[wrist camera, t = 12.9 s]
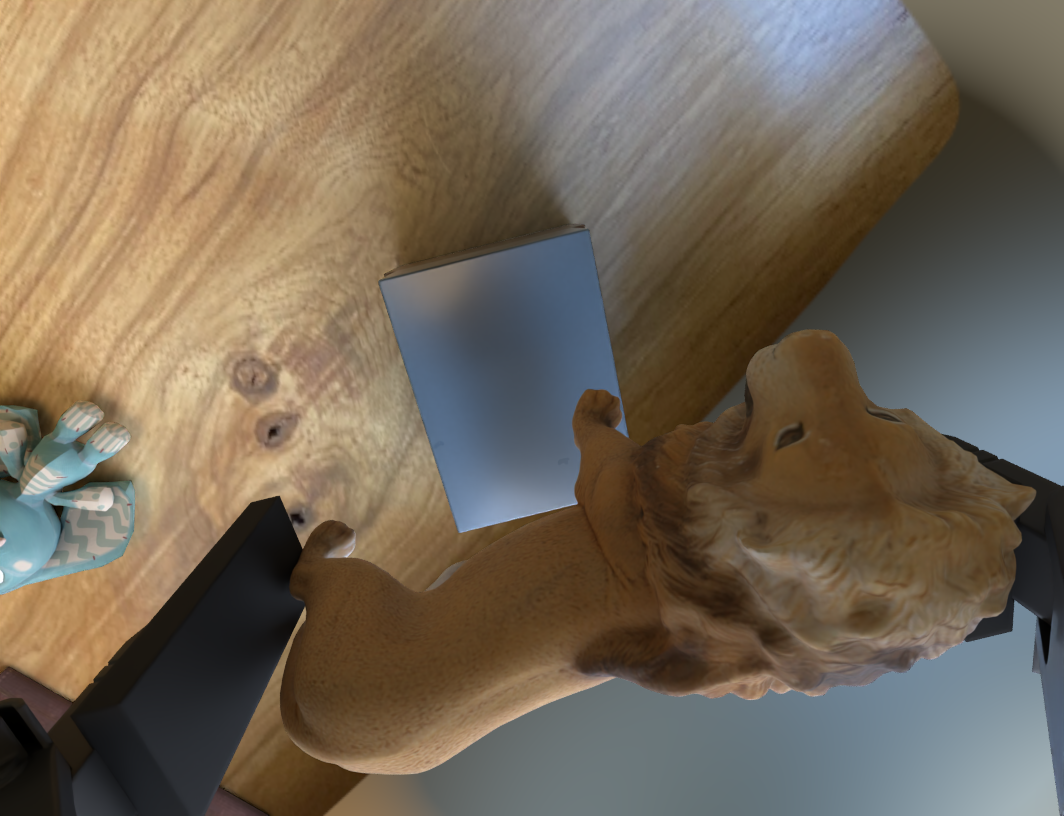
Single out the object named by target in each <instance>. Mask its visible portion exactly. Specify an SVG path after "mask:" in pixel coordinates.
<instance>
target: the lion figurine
mask: <svg viewBox="0 0 1064 816" xmlns="http://www.w3.org/2000/svg"><path fill="white" fill-rule="evenodd" d="M744 396H745V402H743V403H741V404H739V405H737V406H734V407H731V408H729V409H727V410H726V411H725V412H723V413H722V414H721V415H720V416H719V417H718V419H717V420H716V422H714V423H711V422H700V423H697V424H695V425H692V426H691V425H682V424H681V425H678V426H677V427H676V428H675V430H674V431H672V432H670V433H667V434H664V435H661V436H659V437H656V438H654V439H652V440H650V441H648V442H647V443H646V444H645V445H643V446H639V445H638V444H636V443H635V442H633V441H632V440H631V439H629V438H628V437H626V436H625V435H623V434H622V433H620V432H619V431H617V430H616V429H615V428H616V427H617V426H618V425H619V424H620V422H621V420H622V412H621V410H620V399H619V398H618V397H617V396H614V395H611V394H610V393H609V392H608V391H607V390H603V389H600V390H593V389H587V390H585V391H584V393H583V394H582V396H581V397H580V399H579V401H578V403H577V405H576V409H575V412H574V416H573V419H572V428H573V432H574V443H575V445H576V447H577V448H578V449H579V450H580V453H581V460H580V470H579V474H578V478H577V481H576V483H575V488H574V494H575V498H576V500H577V502H578V504H577V505H576V506H574V507H571V508H568V509H565V510H563V511H560V512H557V513H555V514H552V515H549V516H546V517H544V518H541V519H539V520H536V521H534V522H532V523H529V524H527V525H525V526H523V527H521V528H519V529H518V530H516V531H514V532H512V533H510V534H508V535H506V536H505V537H503V538H501V539H500V540H498V541H496V542H494V543H493V544H491V545H489V546H488V547H486V548H484V549H483V550H481V551H480V552H479V553H477V554H476V555H474V556H473V557H472V558H470V559H469V560H467V561H462V562H458V563H456V564H454V565H452V566H450V567H449V568H447V569H446V570H445V571H444V572H443V573H442V574H441V576H440V577H439V578H438V579H437V580H436V581H435V582H434V583H433V584H432V585H431V586H430V587H429V588H428V589H427V590H425V591H424V592H415V591H412V590H410V589H409V588H407V587H405V586H404V585H402V584H401V583H400V582H398V581H397V580H396V579H395V578H393V577H392V576H391V575H390V574H389V573H387V572H386V571H384V570H382V569H381V568H379V567H377V566H376V565H374V564H372V563H370V562H368V561H365V560H362V559H358V558H346V557H347V556H349V555H350V553H351V552H352V551H353V549H354V547H355V532H354V530H353V529H351V528H349V527H347V525H346V524H344V523H342V522H339V521H334V520H330V521H325V522H323V523H322V524H320V525H319V526H318V527H316V528H315V529H314V531H313V532H312V533H311V535H310V536H309V538H308V540H307V542H306V544H305V546H304V548H303V550H302V553H301V555H300V558H299V560H298V563H297V565H296V566H295V568H294V569H293V571H292V575H291V578H290V585H289V589H290V593H291V595H292V596H293V597H294V598H295V599H297V600H301V601H304V603H305V607H306V621H305V622H304V623H303V624H302V626H301V627H300V629H299V630H298V632H297V634H296V636H295V638H294V640H293V644H292V647H291V650H290V653H289V656H288V658H287V661H286V665H285V670H284V674H283V678H282V685H281V691H280V710H281V716H282V720H283V724H284V727H285V730H286V732H287V734H288V735H289V737H290V738H291V740H292V741H293V742H294V743H295V744H296V745H297V746H298V747H300V748H301V749H302V750H303V751H304V752H306V753H307V754H309V755H311V756H312V757H315V758H317V759H319V760H321V761H324V762H328V763H333V764H338V765H339V766H340V767H342V768H345V769H347V770H349V771H354V772H360V773H374V774H415V773H420V772H423V771H426V770H429V769H431V768H433V767H435V766H438V765H440V764H441V763H443V762H445V761H447V760H448V759H450V758H451V757H453V756H454V755H456V754H457V753H459V752H460V751H462V750H463V749H465V748H466V747H468V746H469V745H471V744H472V743H474V742H475V741H477V740H478V739H480V738H481V737H483V736H484V735H486V734H488V733H489V732H491V731H493V730H494V729H496V728H498V727H499V726H501V725H503V724H505V723H507V722H509V721H511V720H513V719H515V718H517V717H519V716H521V715H523V714H526V713H528V712H530V711H532V710H534V709H536V708H538V707H541V706H543V705H545V704H547V703H549V702H552V701H555V700H557V699H560V698H563V697H565V696H568V695H571V694H573V693H576V692H579V691H582V690H585V689H587V688H591V687H593V686H596V685H598V684H601V683H603V682H606V681H608V680H611V679H613V678H616V677H618V678H622V679H625V680H628V681H631V682H634V683H636V684H638V685H640V686H642V687H644V688H646V689H648V690H651V691H654V692H657V693H661V694H665V695H670V696H676V697H679V696H685V695H689V694H694V693H697V694H701V695H703V696H706V697H708V698H711V699H712V698H718V697H722V696H724V695H726V694H728V693H730V692H731V693H733V694H735V695H737V696H739V697H741V698H743V699H747V700H753V699H759V698H761V697H762V696H764V695H765V694H766V693H767V691H768V689H771V690H773V691H775V692H777V693H779V694H781V693H786V692H787V691H789V690H792V689H793V690H795V691H797V692H804V693H805V694H806V695H809V696H819V695H825V693H826V692H827V691H828V690H829V689H830V688H831V687H836V686H865V685H868V684H870V683H872V682H873V681H875V680H876V679H877V678H879V677H880V676H881V675H883V674H885V673H888V672H892V671H893V672H897V673H905V672H907V671H908V670H910V668H911V667H912V666H913V665H914V663H915V662H917V661H918V660H919V659H920V658H924V659H927V660H931V659H935V658H937V657H939V656H940V655H942V654H943V653H944V652H946V651H947V650H948V649H950V648H951V647H953V646H956V645H959V644H960V643H962V642H963V641H964V639H965V638H966V636H967V635H969V634H970V633H972V632H973V631H974V630H975V628H976V626H977V625H978V623H979V622H980V621H981V620H982V619H983V618H988V617H995V616H998V615H999V614H1001V613H1002V612H1003V611H1004V609H1005V607H1006V604H1007V599H1008V595H1009V592H1010V590H1011V588H1012V585H1013V583H1014V581H1015V574H1016V558H1015V554H1014V551H1013V550H1014V549H1015V548H1017V547H1018V546H1019V545H1020V543H1021V541H1022V536H1021V532H1020V531H1019V529H1018V527H1017V526H1016V524H1015V523H1014V520H1015V519H1016V518H1017V517H1018V516H1019V515H1021V514H1022V513H1023V512H1024V511H1025V510H1026V509H1027V508H1028V507H1029V505H1030V504H1031V503H1032V501H1033V500H1034V498H1035V496H1036V490H1034V489H1033V488H1032V487H1028V486H1022V485H1016V484H1012V483H1010V482H1009V481H1007V480H1006V479H1004V478H1003V477H1001V476H999V475H998V474H996V473H994V472H993V471H991V470H989V469H987V468H986V467H984V466H983V465H982V464H980V463H979V462H978V459H977V457H976V456H975V455H974V454H972V453H971V452H968V451H965V450H963V449H962V448H961V447H960V446H958V445H957V444H956V443H955V442H954V441H951V440H948V439H947V438H946V437H945V436H943V435H942V434H940V433H939V432H938V431H936V430H935V429H933V428H932V427H931V426H929V425H928V424H927V423H926V422H924V421H923V420H922V419H921V418H919V416H917V415H916V414H915V413H914V412H913V411H911V410H909V409H906V408H905V409H888V408H882V407H878V406H876V405H875V404H874V403H873V402H872V401H870V400H869V399H868V398H867V396H866V394H865V393H864V391H863V389H862V388H861V386H860V384H859V381H858V377H857V372H856V368H855V363H854V361H853V359H852V356H851V354H850V352H849V350H848V349H847V347H846V346H845V345H844V344H843V343H842V342H841V341H840V340H839V338H838V337H837V336H836V335H835V334H833V333H832V332H830V331H828V330H812V329H807V330H803V331H798V332H794V333H791V334H789V335H787V336H786V337H785V338H784V339H782V340H781V342H780V343H779V344H776V345H771V346H768V347H766V348H763V349H761V350H759V351H758V352H757V353H756V354H755V355H754V357H753V358H752V360H751V361H750V363H749V365H748V369H747V375H746V385H745V395H744Z"/></svg>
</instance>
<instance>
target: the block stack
mask: <svg viewBox="0 0 1064 816" xmlns="http://www.w3.org/2000/svg"><path fill="white" fill-rule="evenodd" d="M384 276H385V277H384V278H382V279H380V280H379V281H378V283H379V287H380V290H381V293H382V296H383V299H384V302H385V305H386V308H387V312H388V315H389V318H390V321H391V324H392V327H393V330H394V333H395V337H396V340H397V343H398V346H399V349H400V352H401V355H402V358H403V361H404V365H405V368H406V371H407V374H408V377H409V380H410V383H411V386H412V390H413V393H414V396H415V399H416V402H417V405H418V408H419V411H420V415H421V418H422V421H423V424H424V427H425V430H426V433H427V436H428V439H429V443H430V446H431V449H432V452H433V455H434V458H435V461H436V464H437V468H438V471H439V474H440V477H441V480H442V483H443V486H444V489H445V493H446V496H447V499H448V502H449V505H450V508H451V511H452V514H453V517H454V521H455V524H456V527H457V530H458V532H459V533H461V532H465V531H469V530H473V529H477V528H481V527H485V526H489V525H494V524H498V523H502V522H506V521H510V520H514V519H518V518H522V517H526V516H530V515H534V514H538V513H543V512H547V511H551V510H555V509H559V508H563V507H567V506H571V505H575V504H578V502H577V500H576V498H575V494H574V488H575V483H576V481H577V478H578V474H579V470H580V460H581V453H580V450H579V449H578V448H577V447H576V445H575V443H574V432H573V428H572V419H573V416H574V412H575V409H576V405H577V403H578V401H579V399H580V397H581V396H582V394H583V393H584V391H585V390H587V389H593V390H600V389H603V390H607V391H608V392H609V393H610V394H611V395H614V396H617V397H618V398H619V399H620V410H621V412H622V420H621V422H620V424H619V425H618V426H617V427H616V428H615V429H616V430H617V431H619V432H620V433H622V434H623V435H625V436H626V437H628V432H627V426H626V421H625V416H624V410H623V405H622V400H621V395H620V389H619V384H618V379H617V374H616V368H615V363H614V358H613V353H612V347H611V342H610V337H609V332H608V326H607V321H606V316H605V310H604V305H603V300H602V295H601V289H600V284H599V279H598V274H597V268H596V263H595V258H594V253H593V247H592V242H591V237H590V232H589V229H586V228H585V225H583V224H568V225H564V226H560V227H556V228H552V229H548V230H543V231H539V232H535V233H531V234H527V235H523V236H519V237H515V238H511V239H507V240H503V241H499V242H495V243H491V244H487V245H483V246H479V247H475V248H471V249H467V250H463V251H459V252H455V253H451V254H447V255H443V256H439V257H435V258H431V259H426V260H422V261H418V262H414V263H410V264H406V265H402V266H399V267H397V268H395V269H393V270H391V271H389V272H387V273H385V274H384ZM628 438H629V437H628Z"/></svg>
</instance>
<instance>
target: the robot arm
mask: <svg viewBox="0 0 1064 816" xmlns="http://www.w3.org/2000/svg"><path fill="white" fill-rule="evenodd" d="M942 435H943V436H945V437H946V438H947V439H948V440H951V441H954V442H955V443H956V444H957V445H958V446H960V447H961V448H962V449H963V450H965V451H968V452H971V453H972V454H974V455H975V456H976V457H977V459H978V462H979V463H980V464H982V465H983V466H984V467H986V468H987V469H989V470H991V471H993V472H994V473H996V474H998V475H999V476H1001V477H1003V478H1004V479H1006V480H1007V481H1009V482H1010V483H1012V484H1016V485H1022V486H1028V487H1032V488H1033V489H1034V490H1036V496H1035V498H1034V500H1033V501H1032V503H1031V504H1030V505H1029V507H1028V508H1027V509H1026V510H1025V511H1024V512H1023V513H1022V514H1021V515H1019V516H1018V517H1017V518H1016V519H1015V520H1014V523H1015V524H1016V526H1017V527H1018V529H1019V531H1020V532H1021V536H1022V541H1021V543H1020V545H1019V546H1018V547H1017V548H1015V549H1014V550H1013V551H1014V554H1015V558H1016V574H1015V581H1014V583H1013V585H1012V588H1011V590H1010V592H1009V595H1008V599H1007V604H1006V607H1005V609H1004V611H1003V612H1002V613H1001V614H999V615H998V616H995V617H988V618H983V619H982V620H981V621H980V622H979V623H978V625H977V626H976V628H975V630H974V631H973V632H972V633H970V634H969V635H967V636H966V638H965V639H964V640H965V641H966V642H969V641H974V640H978V639H982V638H986V637H990V636H994V635H998V634H1002V633H1007V632H1011V631H1012V628H1013V612H1014V600H1016V601H1017V602H1018V603H1020V604H1021V605H1022V606H1024V607H1025V608H1027V609H1028V610H1029V611H1031V612H1032V613H1034V614H1035V615H1036V616H1037V622H1036V633H1035V645H1034V656H1033V668H1032V672H1034V673H1038V674H1041V679H1042V680H1041V681H1042V688H1043V695H1044V702H1045V710H1046V717H1047V724H1048V731H1049V739H1050V746H1051V754H1052V761H1053V768H1054V776H1055V783H1056V790H1057V798H1058V805H1059V812H1060V816H1064V486H1060V485H1058V484H1056V483H1054V482H1052V481H1049V480H1047V479H1045V478H1043V477H1041V476H1039V475H1036V474H1034V473H1032V472H1030V471H1028V470H1025V469H1023V468H1021V467H1019V466H1017V465H1015V464H1012V463H1010V462H1008V461H1006V460H1004V459H998V457H997V456H995V455H993V454H991V453H989V452H987V451H984V450H979V449H978V447H976V446H974V445H971V444H969V443H967V442H965V441H962V440H960V439H958V438H956V437H952V436H949V435H944V434H942ZM302 550H303V549H302V547H301V544H300V542H299V540H298V537H297V535H296V533H295V530H294V528H293V526H292V524H291V521H290V519H289V517H288V514H287V512H286V510H285V507H284V505H283V503H282V500H281V498H280V496H276V497H272V498H268V499H264V500H259V501H255V502H251V503H250V504H249V506H248V507H247V508H246V509H245V510H244V511H243V513H242V514H241V515H240V516H239V517H238V518H237V520H236V521H235V522H234V523H233V524H232V526H231V527H230V528H229V529H228V530H227V531H226V533H225V534H224V535H223V536H222V537H221V539H220V540H219V541H218V542H217V543H216V544H215V546H214V547H213V548H212V549H211V550H210V551H209V553H208V554H207V555H206V556H205V557H204V559H203V560H202V561H201V562H200V563H199V564H198V566H197V567H196V568H195V569H194V570H193V572H192V573H191V574H190V575H189V576H188V577H187V579H186V580H185V581H184V582H183V583H182V584H181V586H180V587H179V588H178V589H177V590H176V592H175V593H174V594H173V595H172V596H171V597H170V599H169V600H168V601H167V602H166V603H165V605H164V606H163V607H162V608H161V609H160V610H159V612H158V613H157V614H156V615H155V616H154V617H153V619H152V620H151V621H150V622H149V623H148V625H146V626H145V627H144V628H143V629H141V630H140V631H139V632H138V633H136V634H135V635H134V636H133V637H131V638H130V639H129V640H128V641H126V642H125V644H124V645H123V646H122V647H121V648H120V649H119V650H118V652H117V653H116V654H115V655H114V656H113V657H112V659H111V660H110V661H109V662H108V666H105V667H104V668H103V669H102V670H101V671H100V672H99V674H98V675H97V676H96V677H95V678H94V679H93V680H94V683H91V684H89V685H88V686H87V687H86V689H85V690H84V691H83V692H82V693H81V694H80V696H79V697H78V698H77V699H76V700H75V701H74V702H73V704H72V705H71V706H70V707H69V708H68V709H67V711H66V712H65V713H64V714H63V715H62V716H61V718H60V719H59V720H58V721H57V722H56V723H55V724H54V726H53V727H52V728H51V729H50V730H49V731H48V733H47V732H46V731H45V729H44V728H43V727H42V725H41V724H40V722H39V721H38V719H37V718H36V717H35V715H34V714H33V712H32V711H31V710H30V708H29V707H28V705H27V704H26V702H25V701H24V700H23V698H8V699H5V700H2V701H0V816H136V815H137V816H205V814H206V812H207V810H208V808H209V806H210V804H211V801H212V799H213V797H214V795H215V793H216V791H217V789H218V787H219V785H220V783H221V781H222V778H223V776H224V774H225V772H226V770H227V768H228V766H229V764H230V762H231V760H232V758H233V755H234V753H235V751H236V749H237V747H238V745H239V743H240V741H241V739H242V737H243V735H244V733H245V730H246V728H247V726H248V724H249V722H250V720H251V718H252V716H253V714H254V712H255V710H256V707H257V705H258V703H259V701H260V699H261V697H262V695H263V693H264V691H265V689H266V687H267V684H268V682H269V680H270V678H271V676H272V674H273V672H274V670H275V668H276V666H277V664H278V662H279V659H280V657H281V655H282V653H283V651H284V649H285V647H286V645H287V643H288V641H289V639H290V636H291V634H292V632H293V630H294V628H295V626H296V624H297V622H298V620H299V618H300V616H301V613H302V611H303V609H304V607H305V603H304V601H301V600H297V599H295V598H294V597H293V596H292V595H291V593H290V589H289V585H290V578H291V575H292V571H293V569H294V568H295V566H296V565H297V563H298V560H299V558H300V555H301V553H302Z"/></svg>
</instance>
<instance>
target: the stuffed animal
mask: <svg viewBox="0 0 1064 816" xmlns="http://www.w3.org/2000/svg"><path fill="white" fill-rule="evenodd" d="M104 415H105V414H104V413H103V412H102V410H101V409H100V408H99V407H98V406H97V405H96V404H94V403H92V402H89V401H76V402H75V403H74V404H73V405H72V406H71V407H69V408H68V409H67V410H66V411H65V413H64V414H63V415H62V416H61V417H60V419H59V421H58V423H57V425H56V427H55V429H54V430H53V432H52V433H50V434H48V435H46V436H44V438H43V439H42V436H41V431H40V426H39V421H38V414H37V410H35V409H31V408H27V407H22V406H15V405H9V406H0V478H4V477H7V476H12V477H14V478H16V479H17V480H18V483H14V482H9V481H6V480H3V479H0V594H5V593H8V592H10V591H13V590H15V589H17V588H20V587H22V586H24V585H28V584H32V583H36V582H40V581H44V580H48V579H52V578H56V577H60V576H64V575H68V574H72V573H76V572H80V571H84V570H89V569H93V568H98V567H102V566H104V565H106V564H108V563H110V562H112V561H113V560H115V559H117V558H119V557H121V556H123V554H124V552H125V549H126V547H127V545H128V543H129V541H130V538H131V536H132V534H133V532H134V514H135V490H134V487H133V485H132V482H131V481H117V482H89V483H87V484H86V485H84V486H83V487H81V488H80V489H77V490H73V491H67V492H62V490H63V487H65V486H68V485H71V484H74V483H75V482H77V481H79V480H81V479H83V478H85V477H86V476H88V475H89V474H90V473H91V472H93V470H94V469H95V468H96V465H97V464H98V463H99V462H101V461H103V460H106V459H108V458H110V457H112V456H113V455H115V454H116V453H117V452H118V451H119V450H120V449H122V448H123V447H124V446H125V445H126V444H127V443H128V442H129V440H130V438H131V435H130V433H129V432H128V430H127V429H126V428H125V427H124V426H122V425H120V424H118V423H116V422H105V423H104V424H103V425H102V426H101V427H100V428H99V429H98V430H97V431H96V432H95V433H94V434H93V436H92V437H91V438H90V439H89V440H88V441H87V443H86V445H84V444H82V443H80V442H78V441H76V440H75V439H77V438H78V437H80V436H82V435H83V434H85V433H87V432H88V431H89V430H91V429H92V428H94V427H95V426H96V425H97V424H98V423H99V422H100V421H101V420H102V419H103V417H104ZM50 503H51V504H53V505H62V506H64V508H63V512H62V516H61V520H59V518H58V516H57V514H56V512H55V509H54V507H53V506H52V505H51V504H50Z"/></svg>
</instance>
